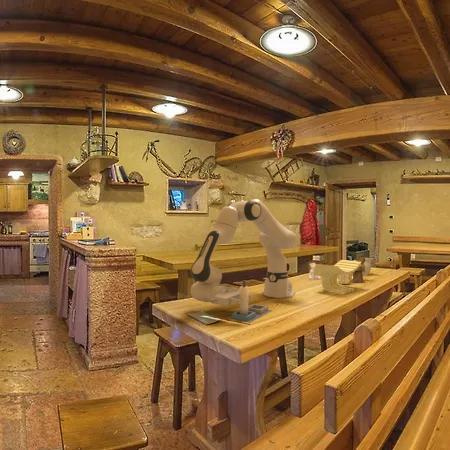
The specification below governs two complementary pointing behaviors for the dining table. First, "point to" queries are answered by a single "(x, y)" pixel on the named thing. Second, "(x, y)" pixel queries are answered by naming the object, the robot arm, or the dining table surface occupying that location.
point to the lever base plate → (250, 314)
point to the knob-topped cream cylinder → (244, 299)
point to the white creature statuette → (311, 274)
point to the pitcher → (366, 266)
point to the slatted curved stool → (335, 275)
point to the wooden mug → (358, 272)
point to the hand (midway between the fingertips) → (246, 299)
